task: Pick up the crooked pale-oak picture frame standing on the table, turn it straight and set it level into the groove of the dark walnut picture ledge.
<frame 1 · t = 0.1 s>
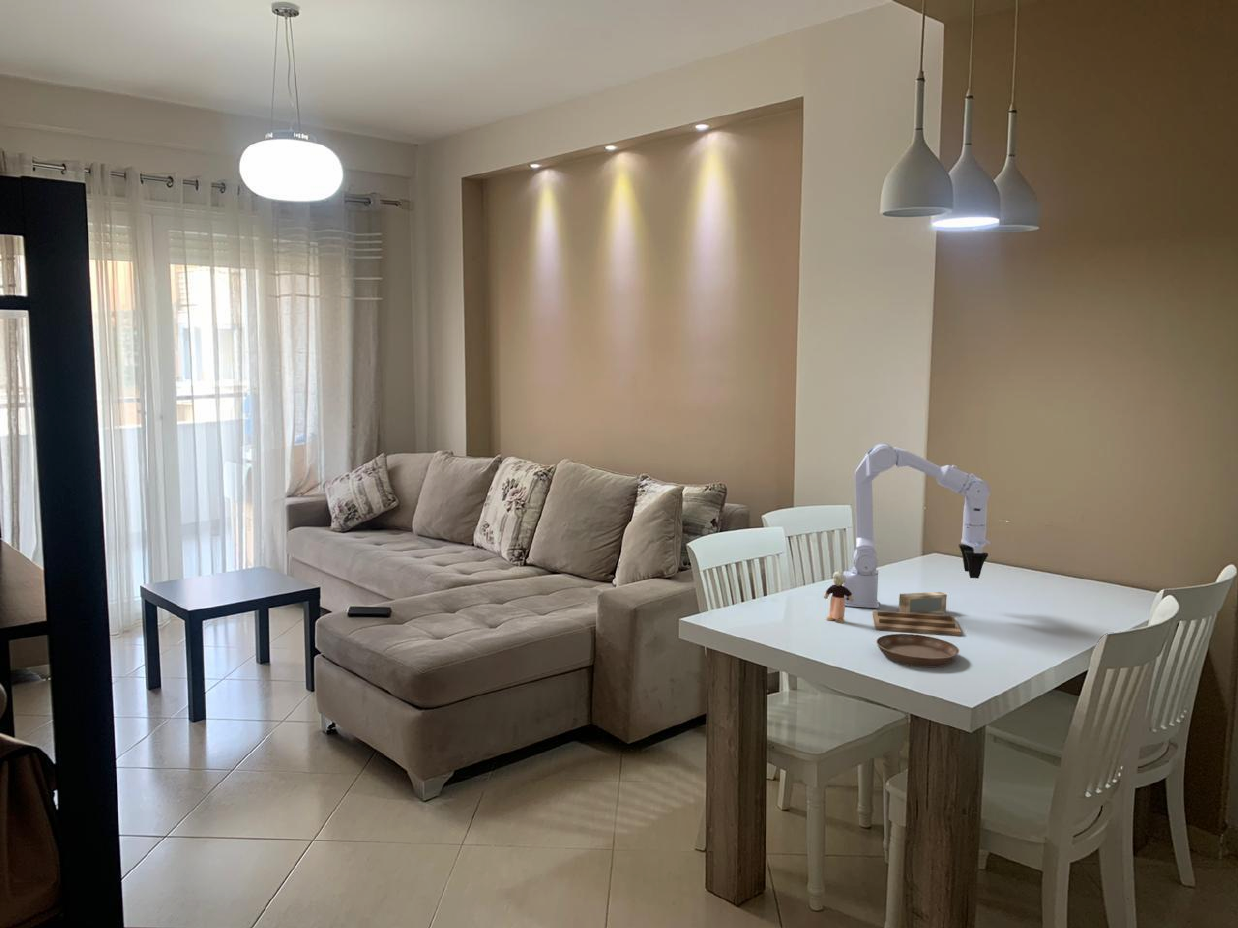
hand: (971, 574, 241), 10 cm above the table, tool pointing down, fingers open, 7 cm apart
grandmother figurine: (837, 621, 232), on the table
picture ledge: (915, 624, 229), on the table
plant saucer: (916, 658, 204), on the table
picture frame: (922, 612, 241), on the table
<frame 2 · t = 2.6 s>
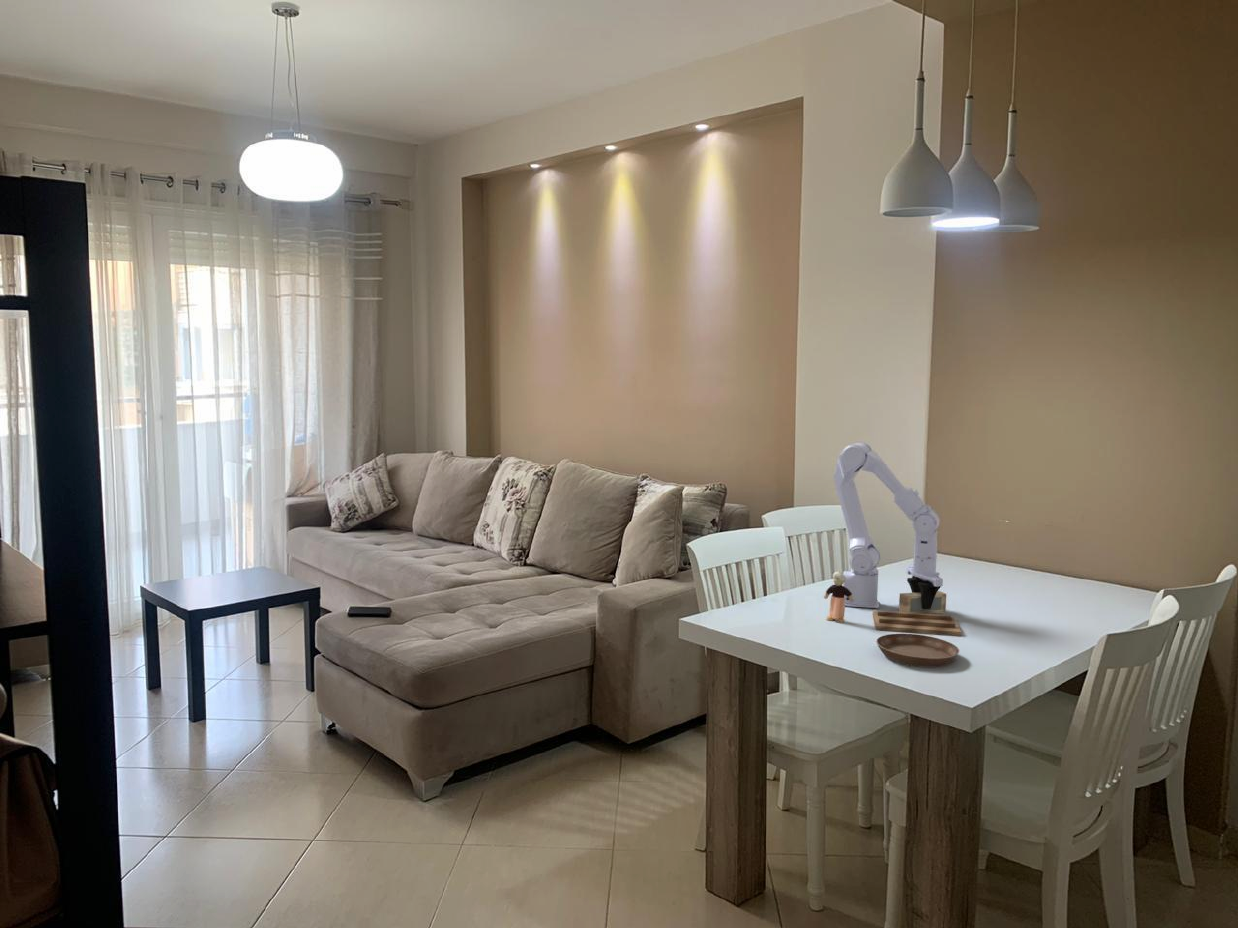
hand: (922, 606, 241), 1 cm above the table, tool pointing down, fingers closed on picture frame, 3 cm apart
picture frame: (922, 612, 241), on the table, touching gripper
everything else where it was.
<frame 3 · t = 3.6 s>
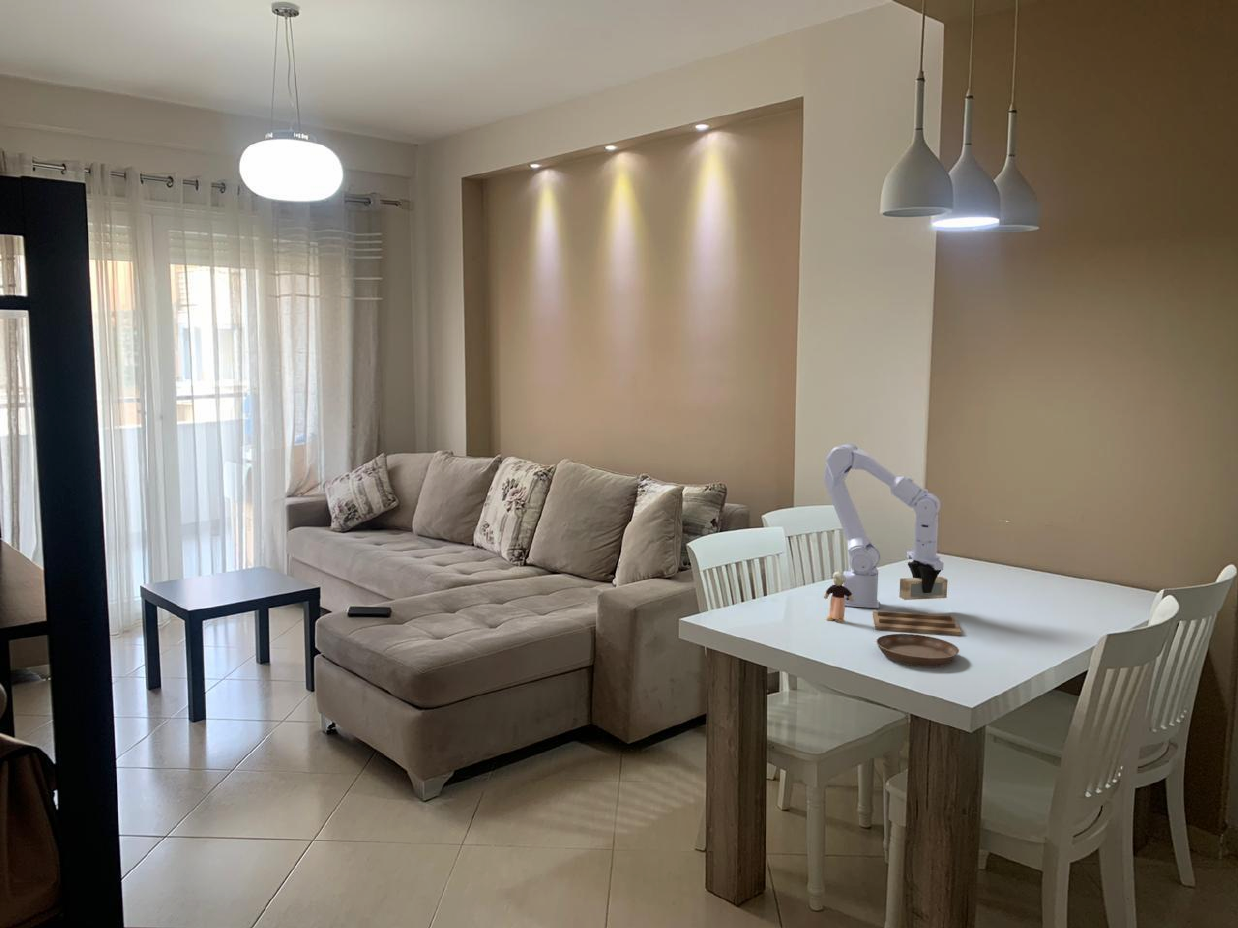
hand: (923, 590, 240), 6 cm above the table, tool pointing down, fingers closed on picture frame, 3 cm apart
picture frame: (922, 597, 240), point 4 cm above the table, touching gripper
everything else where it was.
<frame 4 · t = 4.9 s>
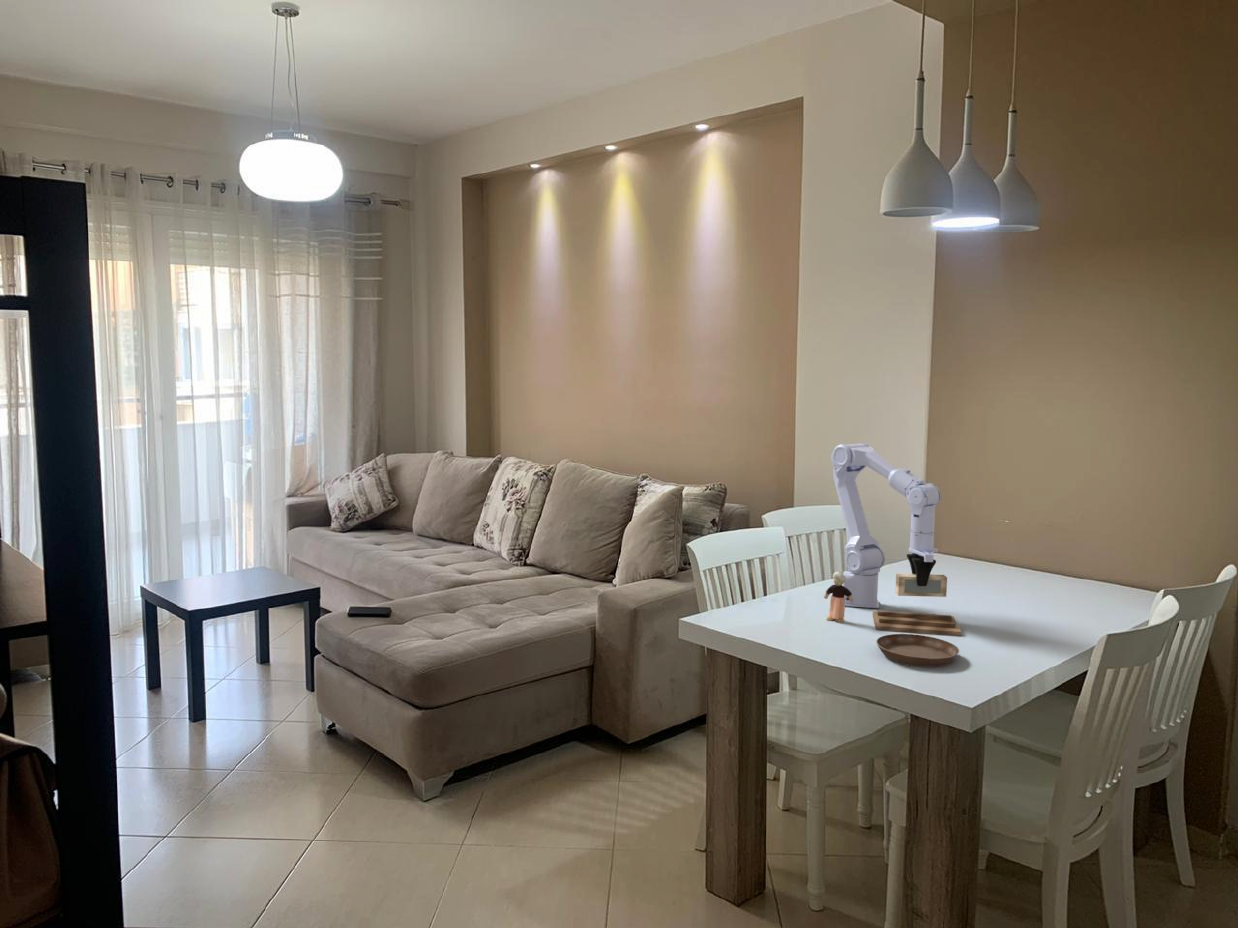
hand: (919, 583, 232), 9 cm above the table, tool pointing down, fingers closed on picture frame, 3 cm apart
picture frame: (920, 594, 232), point 7 cm above the table, touching gripper
everything else where it was.
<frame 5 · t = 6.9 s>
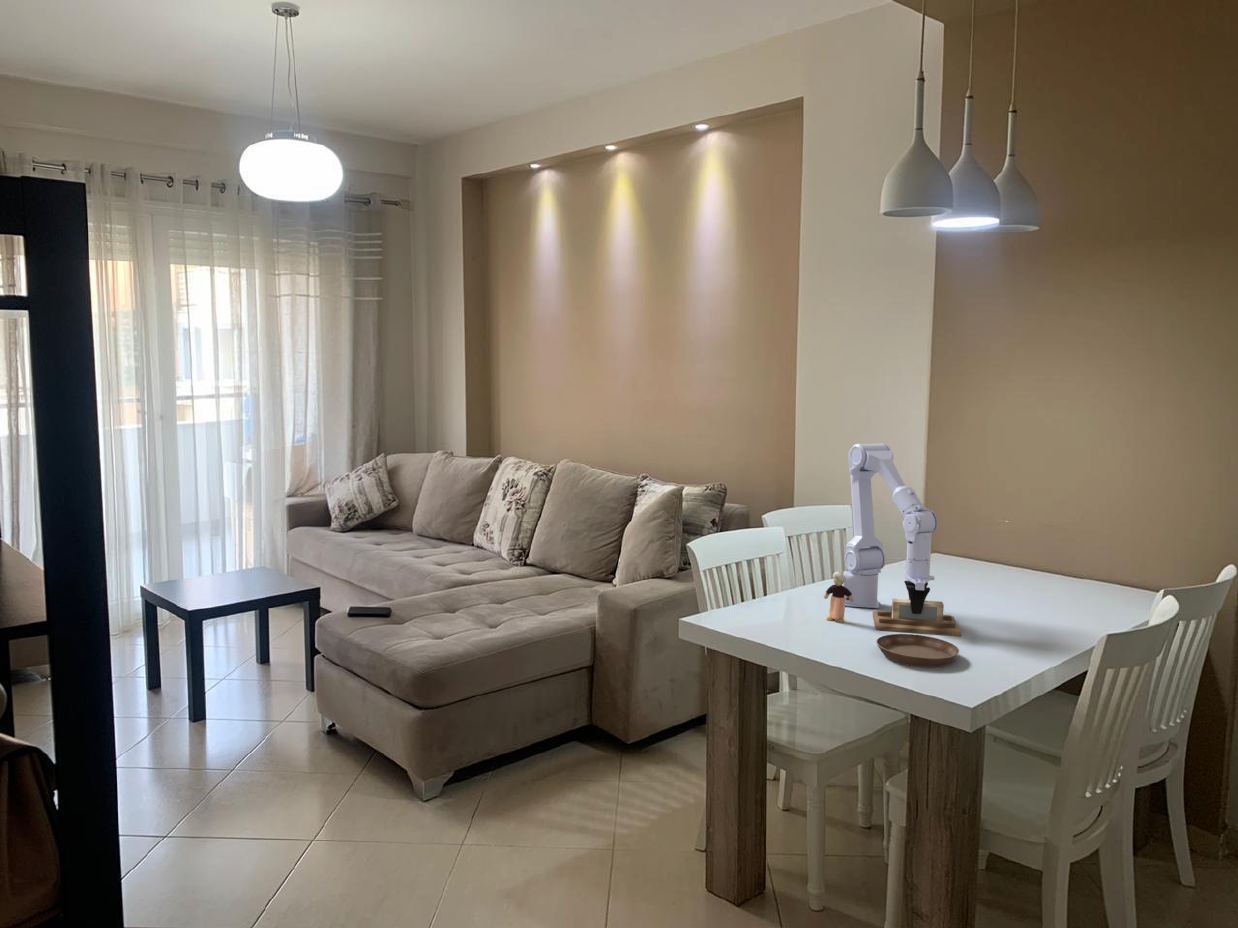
hand: (915, 611, 228), 3 cm above the table, tool pointing down, fingers closed on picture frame, 3 cm apart
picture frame: (916, 620, 229), point 1 cm above the table, touching gripper, picture ledge
everything else where it was.
when the fingers open (3 cm above the table, at t = 7.5 s): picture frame stays where it is, resting on picture ledge.
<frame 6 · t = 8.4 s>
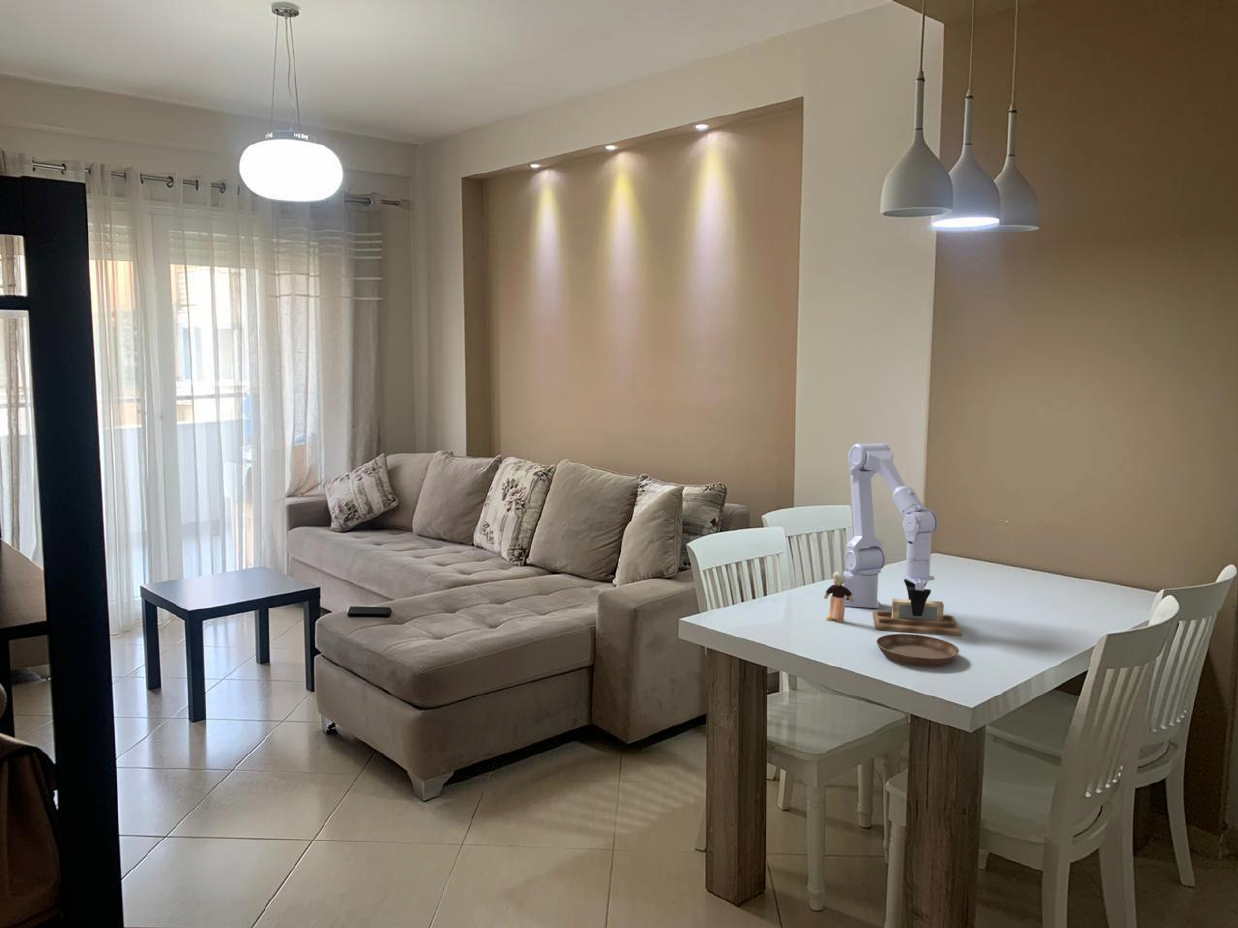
hand: (915, 611, 228), 3 cm above the table, tool pointing down, fingers open, 7 cm apart
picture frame: (916, 620, 229), point 1 cm above the table, touching picture ledge
everything else where it was.
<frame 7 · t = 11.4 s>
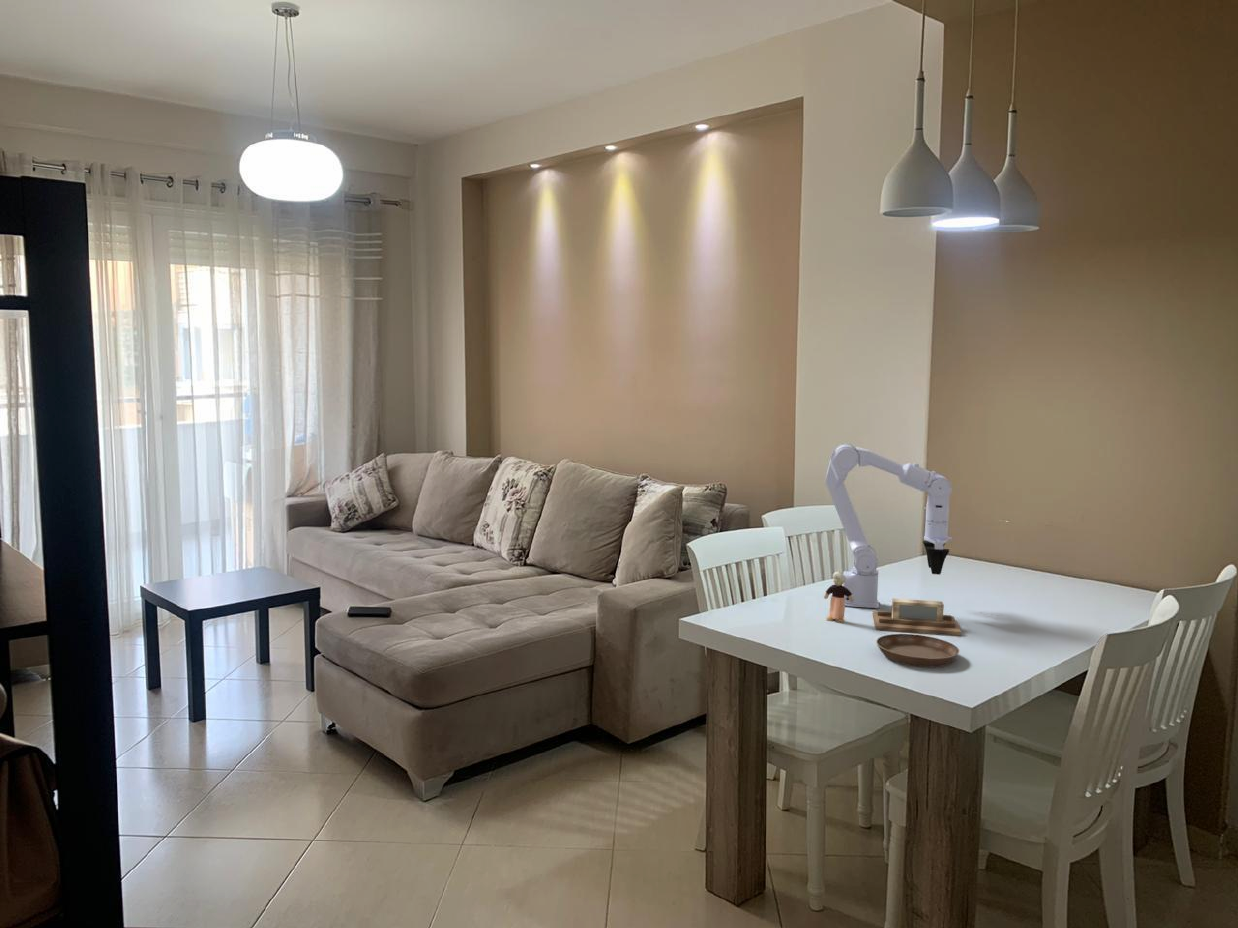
hand: (934, 570, 243), 10 cm above the table, tool pointing down, fingers open, 7 cm apart
nothing on the table moved.
at the end: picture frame inside the target area on the picture ledge (0.4 cm from its centre), point 1.0 cm above the picture ledge's base; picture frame tilted 0°; the gripper is holding nothing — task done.
